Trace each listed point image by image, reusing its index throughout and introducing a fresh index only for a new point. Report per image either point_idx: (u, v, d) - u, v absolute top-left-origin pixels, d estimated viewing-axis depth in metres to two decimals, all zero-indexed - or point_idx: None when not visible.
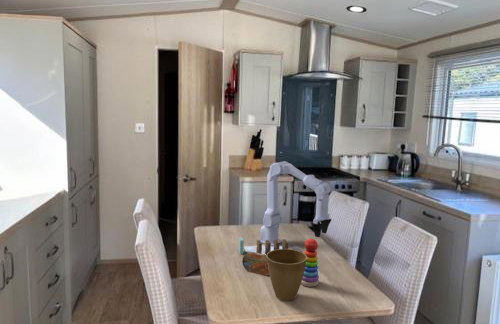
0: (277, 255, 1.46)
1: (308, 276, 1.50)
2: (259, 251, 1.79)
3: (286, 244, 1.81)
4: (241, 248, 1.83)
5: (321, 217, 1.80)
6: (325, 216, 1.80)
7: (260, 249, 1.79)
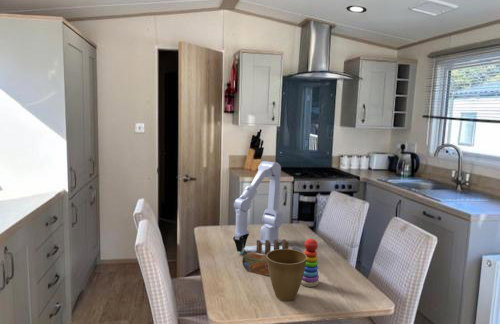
0: (277, 255, 1.46)
1: (308, 276, 1.50)
2: (259, 251, 1.79)
3: (286, 244, 1.81)
4: None
5: (242, 232, 1.81)
6: (245, 231, 1.82)
7: (260, 249, 1.79)
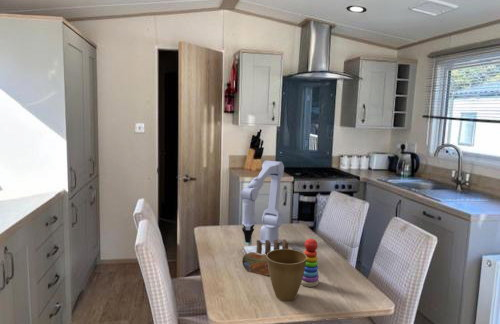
0: (277, 255, 1.46)
1: (308, 276, 1.50)
2: (259, 251, 1.79)
3: (286, 244, 1.81)
4: None
5: (250, 222, 1.76)
6: (253, 221, 1.77)
7: (260, 249, 1.79)
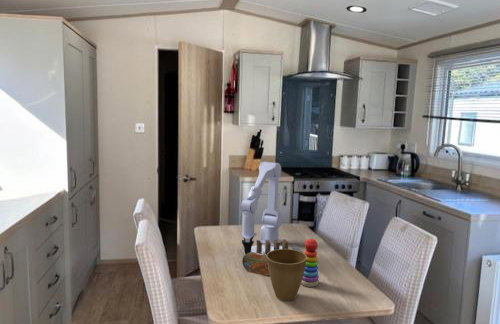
0: (277, 255, 1.46)
1: (308, 276, 1.50)
2: (259, 251, 1.79)
3: (286, 244, 1.81)
4: None
5: (250, 234, 1.77)
6: (253, 232, 1.78)
7: (260, 249, 1.79)
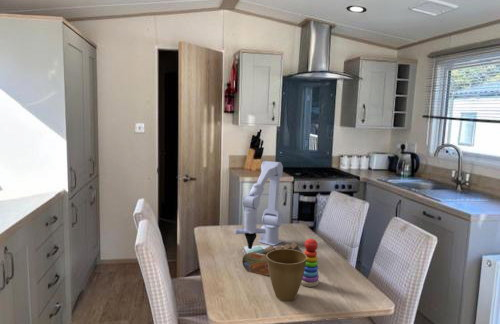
0: (277, 255, 1.46)
1: (308, 276, 1.50)
2: (267, 252, 1.80)
3: (296, 247, 1.82)
4: None
5: (245, 229, 1.78)
6: (248, 229, 1.77)
7: None
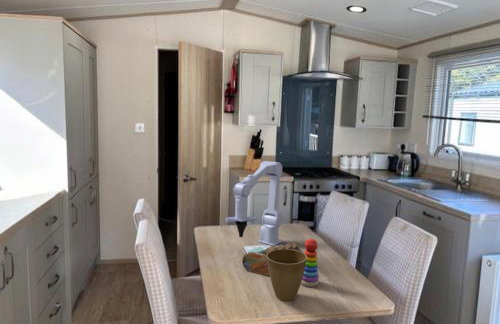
0: (277, 255, 1.46)
1: (308, 276, 1.50)
2: None
3: (296, 247, 1.82)
4: None
5: (235, 217, 1.76)
6: (239, 217, 1.75)
7: None
